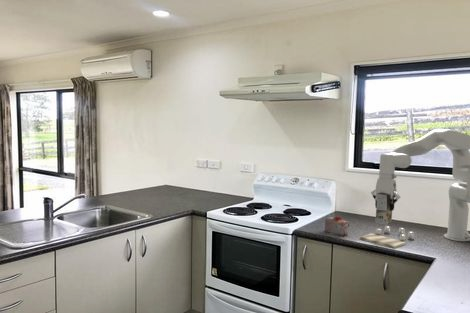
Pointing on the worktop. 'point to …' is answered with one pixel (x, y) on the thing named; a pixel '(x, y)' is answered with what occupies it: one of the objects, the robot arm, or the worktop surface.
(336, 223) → the food item
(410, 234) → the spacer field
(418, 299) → the worktop surface
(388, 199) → the coffee box
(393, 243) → the board
